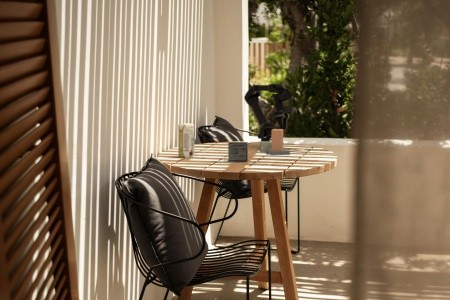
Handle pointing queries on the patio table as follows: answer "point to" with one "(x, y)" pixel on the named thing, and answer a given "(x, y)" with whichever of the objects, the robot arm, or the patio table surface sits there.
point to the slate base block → (278, 152)
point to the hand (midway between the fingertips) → (283, 128)
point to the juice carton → (186, 140)
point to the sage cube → (264, 146)
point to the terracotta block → (277, 139)
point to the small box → (237, 151)
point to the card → (299, 150)
